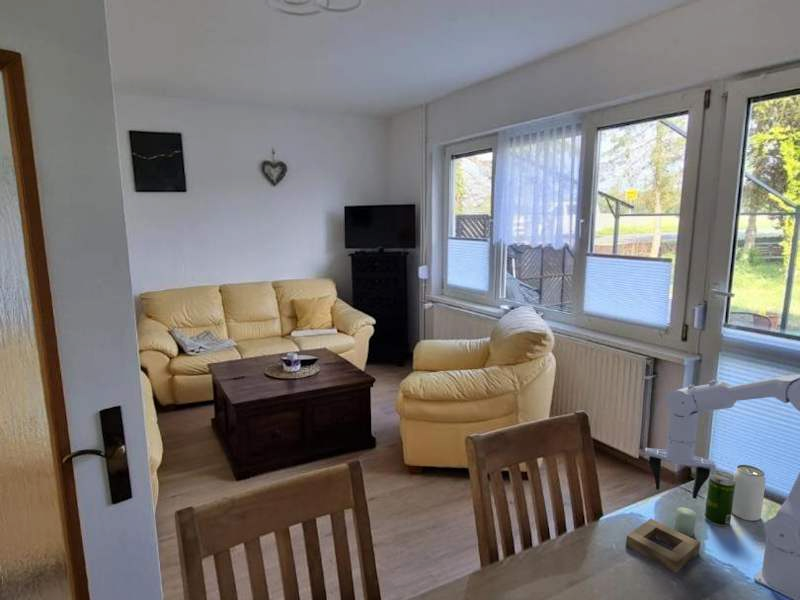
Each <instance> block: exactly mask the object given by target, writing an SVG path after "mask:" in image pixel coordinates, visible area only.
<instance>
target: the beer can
mask: <svg viewBox="0 0 800 600" xmlns="http://www.w3.org/2000/svg"><path fill="white" fill-rule="evenodd" d="M734 480H735V478H734V475H732V474H730V473H729V472H724V471H721V470H715V473H714V472H710V475H709V478H708V485H707V493H706V501H705V502H706V503H705V508H704V509H705V510H704V517H705V520H706V521H707V522H708V523H709V522H710V524H711V525H712V526H713V525H714V526H716V527H721V528H725V527H728V526H729V525H730V524H731V520H732V519H731V518H732V515H733V513H732V506H733V499H734V491H735V481H734Z"/></svg>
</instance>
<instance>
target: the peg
mask: <svg viewBox="0 0 800 600" xmlns="http://www.w3.org/2000/svg"><path fill="white" fill-rule="evenodd" d="M675 514H676V515H675V520H674V521H675V522H674V523H675V524H674V530H676V531H678V532H680V533H682V534H684V535H686V536H690V537H693V536H694V535H695V528H696V527H695V525H696V518H697V513H696V512H695V511H694V510H692V509H691V508H688V507H684V506H681V507H677V508H676V513H675ZM692 535H693V536H692Z"/></svg>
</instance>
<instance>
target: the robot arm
mask: <svg viewBox="0 0 800 600" xmlns="http://www.w3.org/2000/svg"><path fill="white" fill-rule="evenodd" d="M765 398H776V399H777V400H779V401H781V403H784V404H787V403H790V404H791V405H792V406H793V407H794V408H795V409H796V410H798V412H800V373H799V374H790V375H783V376H776V377H773V378H768V379H761V380H755V381H751V382H745V383H741V384H737V385H730V384H729V383H727V382H725V381H718V380H717V379H712V380H709V381H708V383H707V384H701V385H697V386H695V384H689V385H688V386H686V387H683V388H679V389H676V390H673V391H672V392H670V393H668V394H667V396H666V399H665V401H666V402H665V404H666V406H667V409H668V410H669V417H668V427H667V428H668V429H667V438H666V439H667V440H666V447H665V449H661V448H650V447H645V451H644V458H645V459H647V460H649V461H648V463H649V466H650V469H651V471H652V475H653V477H654V481H655V490H658V491H660V486H661V465H662V461H664V462H668V463H673V464H676V465H681V466H687V467H692V468H695V473H694V474H695V475H694V476H695V477H694V484H693V488H692V499H697V497H698V494H699V491H700V490H701V488H702V486H703V485H704V483H706V481H708V480H709V476H710V475H711V472H714V473H715V471H716V468H717V464H716V461H714V460H710V459H707V458H703V457H700V456H697V455H695V447H696V438H697V428H698V417H699V412H701V413H703V412H710V411H717V410H718V411H719V410H725V409H726V410H727V409H731V408H733V407H734V406H735V404H736V402H738V401H747V400H757V399H765ZM763 531H764V535H765V537H766V540H765V547H764V555H763V561H762V567H761V569H760V570H759V571H758V572H757V573H756V574H755V576H754V577H753V580H754V581H755V582H757V583H759V584H762V585H763V586H766V587H767V588H769V589H772V590H774V591H776V592H777V593H780V594H782V595H783V596H786V597H787V598H789V599H792V600H800V472H799V473H798V475H797V477H796V480H795V481H794V484H793V486H792V488H791V490H790V492H789V494H788V496H787V498H786V499H785V501H784V502H783V503H782V505H781V506H780V507H779V509H778V510H777V512H776V514H775V515H774V516H773V517H771V518H769V519H767V520H766V522H764V526H763Z"/></svg>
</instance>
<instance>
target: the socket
mask: <svg viewBox="0 0 800 600" xmlns="http://www.w3.org/2000/svg"><path fill="white" fill-rule="evenodd" d="M654 537H655V538H656V537H657V538H656V539H658V538H659V539H658V540H660V539H661V540H660V541H662V542H664V541H665V542H664V543H666V542H667V543H666V544H668V543H669V544H668V545H670V544H671V545H670V546H672V545H673V546H672V547H674V546H675V547H674V548H673V549H671V550H670V549H668V548H666V547H664V546H662V545H660V544H658V543H656V542H654V541H652V540H653V539H655V538H654ZM650 540H651V541H650ZM625 546H627V547H628V548H629V549H632V550H634V551H635V552H638V553H639V554H641V555H643V556H645V557H646V558H648V559H650V560H652V561H654V562H656V563H657V562H658V563H657V564H659V563H660V564H659V565H661V564H662V565H661V566H663V565H664V566H663V567H665V566H666V567H665V568H667V567H668V568H670V569H672V570H673V571H672V570H671V571H672V572H674V571H675V573H676V572H677V571H678V570H679V571H680V570H681V569H682V568H683V567H685V566H686V565H687V564H688V563H689V562H690V561H691V560H692V559H693V558H695V557H696V556H697V555H698V554H699V553H700V547H701V541H699V540H697V539H695V538H692V537H691V536H690V537H688V536H686V535H684V534H682V533H680V532H678V531H676V530H675V528H674V529H673V528H671V527H670V526H667V525H665V524H663V523H662V522H659V521H657V520H655V519H652V518H649V519H647V520H646V521H645V522H643V523H642V524H641V525H640V526H638V527H636V528H635V529H634V530H632V531H631V532H629V533H628V534H627V535H626V542H625ZM668 568H667V569H668ZM670 569H669V570H670ZM679 571H678V572H679ZM678 572H677V573H678Z"/></svg>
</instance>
